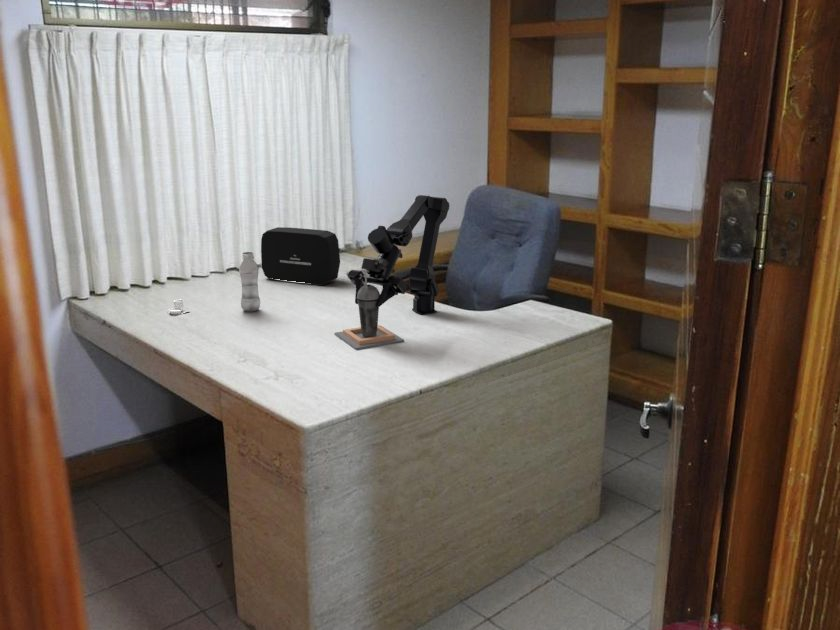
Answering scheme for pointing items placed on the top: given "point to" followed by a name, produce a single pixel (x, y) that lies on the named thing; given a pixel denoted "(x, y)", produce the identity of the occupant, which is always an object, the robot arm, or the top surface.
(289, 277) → the black hard case
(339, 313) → the top surface
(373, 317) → the beverage cup
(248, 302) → the plastic bottle
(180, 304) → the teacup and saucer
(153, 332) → the top surface
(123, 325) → the top surface
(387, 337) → the cup dock
